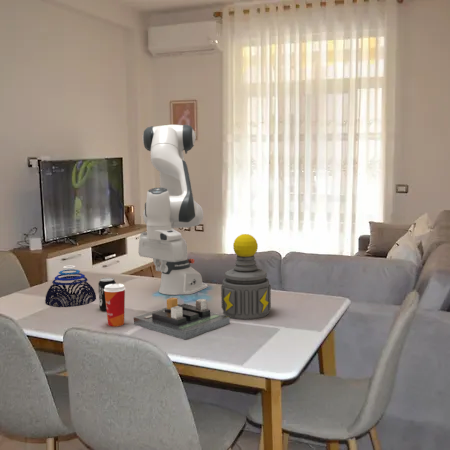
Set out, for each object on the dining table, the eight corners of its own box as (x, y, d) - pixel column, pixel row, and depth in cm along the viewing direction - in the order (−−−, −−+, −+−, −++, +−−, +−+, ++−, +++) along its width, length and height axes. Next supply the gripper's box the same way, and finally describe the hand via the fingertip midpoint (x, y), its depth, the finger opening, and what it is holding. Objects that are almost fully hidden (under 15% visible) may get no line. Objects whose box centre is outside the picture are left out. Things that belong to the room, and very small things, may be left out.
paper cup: (106, 321, 203) (104, 283, 201) (127, 320, 204) (126, 282, 202) (103, 328, 195) (101, 288, 194) (126, 327, 196) (124, 288, 194)
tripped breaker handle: (173, 306, 203) (172, 297, 203) (177, 308, 202) (177, 298, 201) (166, 308, 201) (166, 299, 201) (171, 309, 199) (171, 300, 199)
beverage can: (112, 312, 215) (111, 281, 213) (96, 311, 216) (95, 280, 215) (119, 307, 221) (118, 277, 220) (103, 306, 223) (102, 277, 221)
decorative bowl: (34, 304, 228) (32, 270, 226) (66, 293, 246) (64, 260, 244) (75, 309, 220) (73, 273, 218) (104, 296, 238) (103, 263, 237)
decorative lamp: (245, 303, 225) (244, 229, 221) (281, 312, 211) (281, 233, 207) (210, 313, 212) (209, 234, 208) (247, 323, 198) (246, 239, 194)
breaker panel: (178, 310, 216) (178, 290, 214) (229, 323, 198) (229, 301, 197) (133, 324, 199) (133, 302, 198) (185, 339, 182) (184, 315, 181)
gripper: (133, 232, 206) (135, 269, 208) (171, 236, 193) (172, 276, 194) (146, 230, 211) (148, 266, 212) (185, 234, 197) (185, 273, 199)
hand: (160, 271), depth 203 cm, fingers closed
